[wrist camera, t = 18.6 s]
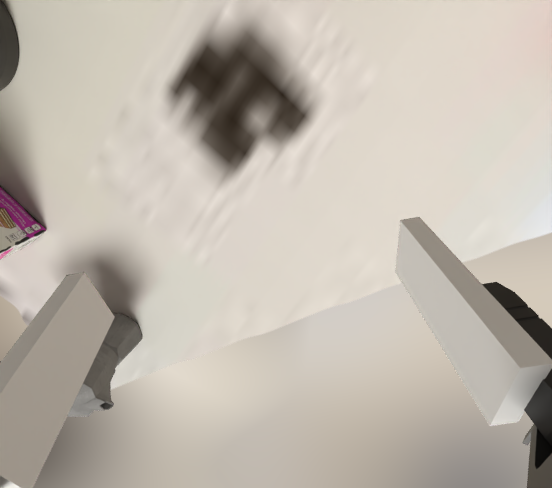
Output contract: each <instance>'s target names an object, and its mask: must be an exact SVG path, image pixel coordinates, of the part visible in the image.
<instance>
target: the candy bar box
mask: <svg viewBox="0 0 552 488" xmlns="http://www.w3.org/2000/svg"><path fill="white" fill-rule="evenodd" d="M45 231H46V229H45V228H44V227H43V226H42V225H41V224H40V223H39V222H38V221H37V220H36V219H34V218H33V217H32V216H31V215H30V214H29V213H28V212H27V211H26V210H25V209H24V208H23V207H22V206H21V205H20V204H19V203H18V202H17V201H16V200H14V199H13V198H12V197H11V196H10V195H9V194H8V193H7V192H6V191H5V190H4V189H3V188H2V187H1V186H0V259H2V258H4V257H6V256H8V255H10V254H12V253H14V252H16V251H18V250H20V249H22V248H24V247H26V246H28V245H30V244H31V243H32V242H33V241H35V240H36V239H37V238H38V237H39V236H40V235H42V234H43V233H44V232H45Z"/></svg>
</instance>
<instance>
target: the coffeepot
mask: <svg viewBox="0 0 552 488" xmlns="http://www.w3.org/2000/svg"><path fill="white" fill-rule="evenodd" d="M112 314H113V315H114V320H113V322H112V324H111V326H110V328H109V330H108V332H107V334H106V336H105V338H104V340H103V342H102V345H101V347H100V349H99V351H98V353H97V355H96V357H95V359H94V361H93V363H92V365H91V367H90V370H89V372H88V374H87V376H86V378H85V380H84V382H83V384H82V386H81V388H80V390H79V392H78V394H77V397H76V399H75V401H74V403H73V405H72V407H71V409H70V411H69V413H68V415H67V416H89V415H91V413H92V412H93V411H94V410H105V409H106V410H108V409H110V408H112V407H113V405H114V403H113V402H112V401H111V395H110V381H111V379H112V377H113V375H114V373H115V368H116V366H117V365H118V364H119V363H120V362H121V361H122V360H123V359H124V358H125V357H126V356H127V355H128V354H129V353H130V352H131V351H132V350H133V349H134V348H135V346H136V345H137V344H138V343H139V342H140V341H141V340H142V335H141V330H140V328H139V326H138V324H137V323H136V322H135V321H134V320H132V319H131V318H129V317H127V316H125V315H122V314H118V313H112Z"/></svg>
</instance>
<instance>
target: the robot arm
mask: <svg viewBox="0 0 552 488" xmlns="http://www.w3.org/2000/svg"><path fill="white" fill-rule="evenodd" d="M18 58H19V48H18V40H17V35H16V31H15V28H14V25H13V22H12V20H11V17H10V15H9V13H8V11H7V9H6V7H5V6H4V4H3V2H2V1H1V0H0V90H2V89H3V88H5V87H6V86H7V85H8V84H9V83H10V81H11V80H12V78H13V77H14V75H15V72H16V69H17V65H18ZM395 272H396V274H397V276H398V277H399V279H400V280H401V282H402V284H403V285H404V287H405V289H406V290H407V292H408V293H409V295H410V297H411V298H412V300H413V302H414V303H415V305H416V306H417V308H418V310H419V311H420V313H421V315H422V316H423V318H424V320H425V321H426V323H427V324H428V326H429V328H430V329H431V331H432V333H433V334H434V336H435V337H436V339H437V341H438V342H439V344H440V346H441V347H442V349H443V351H444V352H445V354H446V355H447V357H448V359H449V360H450V362H451V364H452V365H453V367H454V369H455V370H456V372H457V373H458V375H459V377H460V378H461V380H462V382H463V383H464V385H465V386H466V388H467V390H468V391H469V393H470V395H471V396H472V398H473V400H474V401H475V403H476V404H477V406H478V408H479V409H480V411H481V413H482V414H483V416H484V417H485V419H486V421H487V422H488V424H489V426H494V425H500V424H508V423H515V422H518V421H519V419H520V418H521V416H522V415H523V413H524V411H525V412H526V413H527V415H528V416H529V417H530V419H531V420H532V421H533V423H534V425H533V426H532V428H531V429H530V430H529V432H528V433H527V435H526V436H525V438H524V441H523V443H524V444H526V445H528V444H529V442H530V441H531V443H530V456H529V468H528V481H527V488H552V328H550V326H549V325H548V324H547V323H546V322H544V321H543V320H542V319H540V318H539V317H538V315H537V314H536V313H535V312H534V311H533V310H532V309H531V308H528V306H527V304H526V303H525V302H524V301H523V300H522V299H521V298H520V297H519V296H518V295H517V294H516V293H515V292H513V291H511V290H510V289H508V288H506V287H504V286H503V285H501V284H499V283H497V282H493V283H487V284H481V283H480V282H479V281H478V280H477V279H476V278H475V276H474V275H473V274H472V273H471V272H470V271H469V270H468V269H467V268H466V267H465V266H464V265H463V263H462V262H461V261H460V260H459V259H458V258H457V257H456V256H455V255H454V254H453V253H452V252H451V251H450V250H449V248H448V247H447V246H446V245H445V244H444V243H443V242H442V241H441V240H440V239H439V238H438V237H437V236H436V234H435V233H434V232H433V231H432V230H431V229H430V228H429V227H428V226H427V225H426V224H425V223H424V222H423V220H422V219H421V218H420V217H416V218H410V219H404V220H400V228H399V239H398V249H397V259H396V270H395ZM113 320H114V315H113V314H112V312H111V311H110V309H109V308H108V306H107V305H106V303H105V302H104V300H103V299H102V297H101V296H100V294H99V293H98V291H97V290H96V288H95V287H94V285H93V284H92V282H91V281H90V279H89V278H88V276H87V275H86V273H85V272H83V273H77V274H71V275H67V276H66V277H65V278H64V280H63V281H62V282H61V284H60V285H59V286H58V288H57V289H56V290H55V292H54V293H53V294H52V296H51V297H50V298H49V299H48V301H47V302H46V303H45V305H44V306H43V307H42V309H41V310H40V311H39V313H38V314H37V315H36V316H35V318H34V319H33V320H32V322H31V323H30V324H29V326H28V327H27V328H26V330H25V331H24V332H23V334H22V335H21V336H20V337H19V339H18V340H17V341H16V343H15V344H14V346H13V347H12V348H11V349H10V351H9V352H8V353H7V355H6V356H5V357H4V358H3V360H2V361H0V488H33V486H34V484H35V482H36V480H37V478H38V476H39V473H40V471H41V469H42V467H43V465H44V463H45V461H46V459H47V457H48V455H49V453H50V451H51V449H52V446H53V444H54V442H55V440H56V438H57V436H58V434H59V432H60V430H61V427H62V425H63V424H64V422H65V419H66V417H67V415H68V413H69V411H70V409H71V407H72V405H73V403H74V401H75V399H76V397H77V394H78V392H79V390H80V388H81V386H82V384H83V382H84V380H85V378H86V376H87V374H88V372H89V370H90V367H91V365H92V363H93V361H94V359H95V357H96V355H97V353H98V351H99V349H100V347H101V345H102V342H103V340H104V338H105V336H106V334H107V332H108V330H109V328H110V326H111V324H112V322H113Z"/></svg>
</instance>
